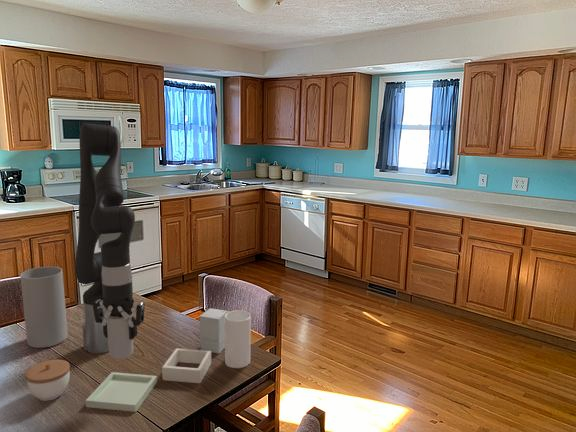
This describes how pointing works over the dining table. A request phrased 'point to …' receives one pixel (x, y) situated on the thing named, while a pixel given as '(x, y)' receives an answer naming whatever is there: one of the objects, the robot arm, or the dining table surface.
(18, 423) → the dining table surface
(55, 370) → the lidded jar
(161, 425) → the dining table surface
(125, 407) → the tray
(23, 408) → the dining table surface
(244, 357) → the cup
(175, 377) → the holder
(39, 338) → the cylinder vase
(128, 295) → the robot arm
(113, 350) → the beverage can
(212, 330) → the supplement box
